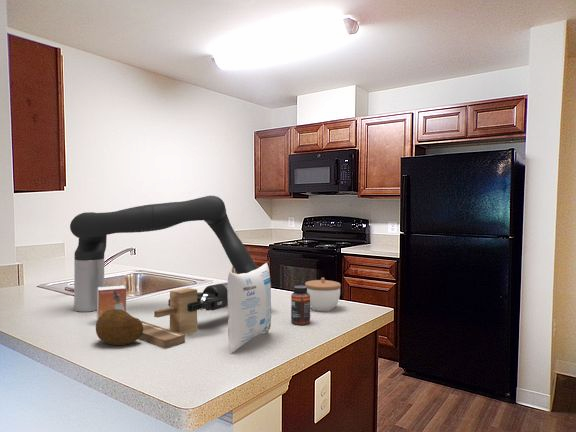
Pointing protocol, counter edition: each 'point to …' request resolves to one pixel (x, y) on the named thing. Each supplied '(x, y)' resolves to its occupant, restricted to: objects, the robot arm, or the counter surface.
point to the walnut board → (161, 336)
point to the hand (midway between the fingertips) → (178, 305)
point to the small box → (110, 299)
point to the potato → (118, 327)
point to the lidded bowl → (323, 294)
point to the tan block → (181, 311)
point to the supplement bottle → (300, 306)
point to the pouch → (248, 305)
